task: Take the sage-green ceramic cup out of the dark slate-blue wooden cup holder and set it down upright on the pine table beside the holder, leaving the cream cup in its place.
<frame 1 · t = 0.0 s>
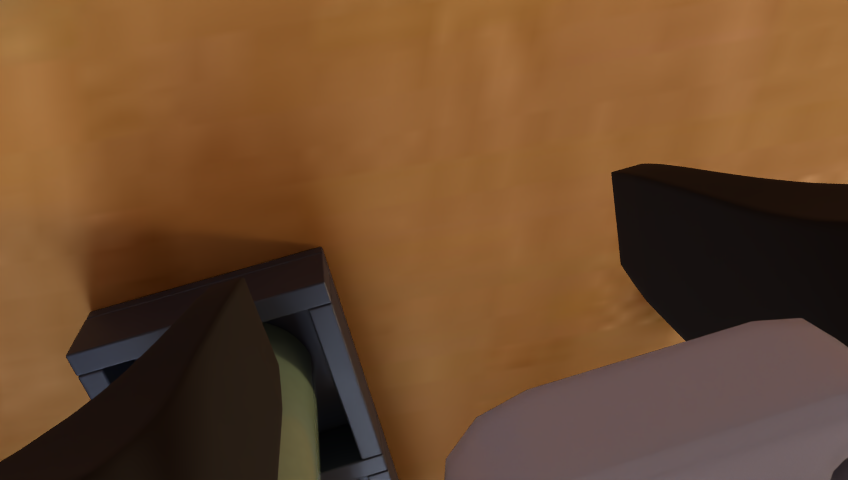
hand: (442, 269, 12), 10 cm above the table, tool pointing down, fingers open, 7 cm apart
cup holder: (278, 444, 26), on the table
green cup: (245, 379, 24), resting on cup holder
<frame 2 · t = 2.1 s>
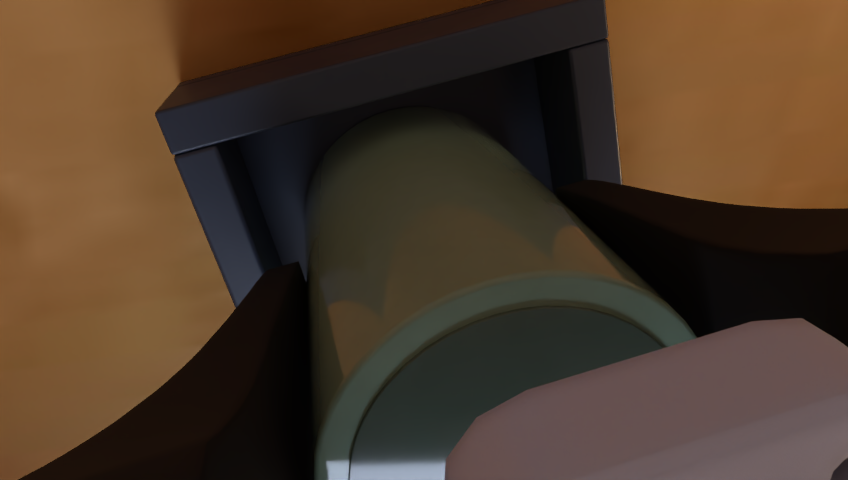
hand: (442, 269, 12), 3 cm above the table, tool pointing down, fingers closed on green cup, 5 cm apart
cup holder: (444, 331, 17), on the table
green cup: (414, 214, 15), point 1 cm above the table, touching cup holder, gripper
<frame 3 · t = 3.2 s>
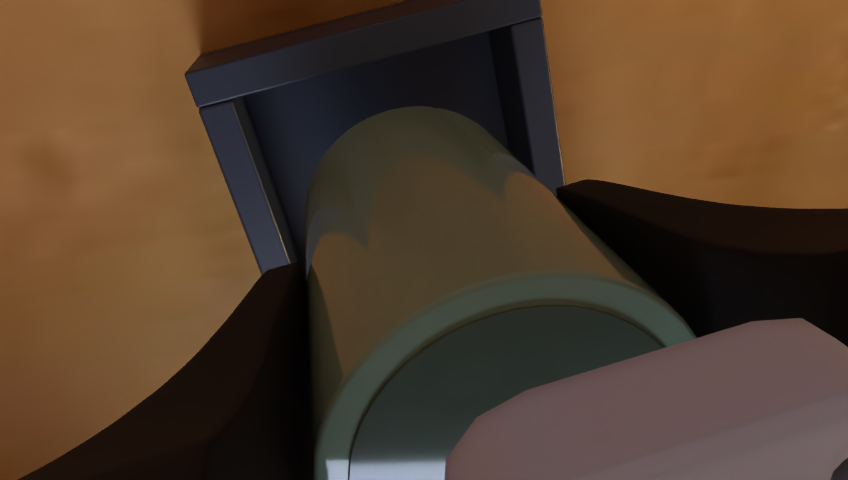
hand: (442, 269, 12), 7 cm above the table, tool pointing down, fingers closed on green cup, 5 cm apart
cup holder: (420, 269, 20), on the table
green cup: (414, 213, 15), point 4 cm above the table, touching gripper
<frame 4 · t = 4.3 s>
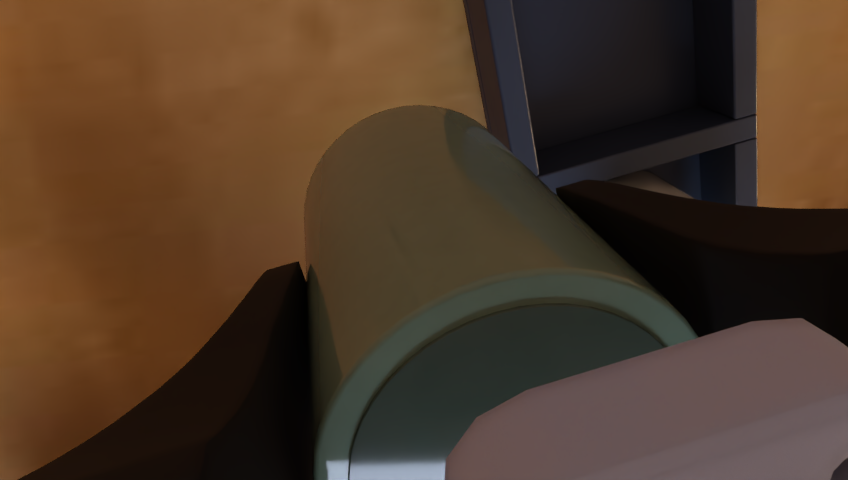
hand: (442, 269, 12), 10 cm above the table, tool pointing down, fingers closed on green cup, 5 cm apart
cup holder: (603, 137, 23), on the table
cream cup: (619, 233, 24), resting on cup holder
green cup: (414, 213, 15), point 7 cm above the table, touching gripper
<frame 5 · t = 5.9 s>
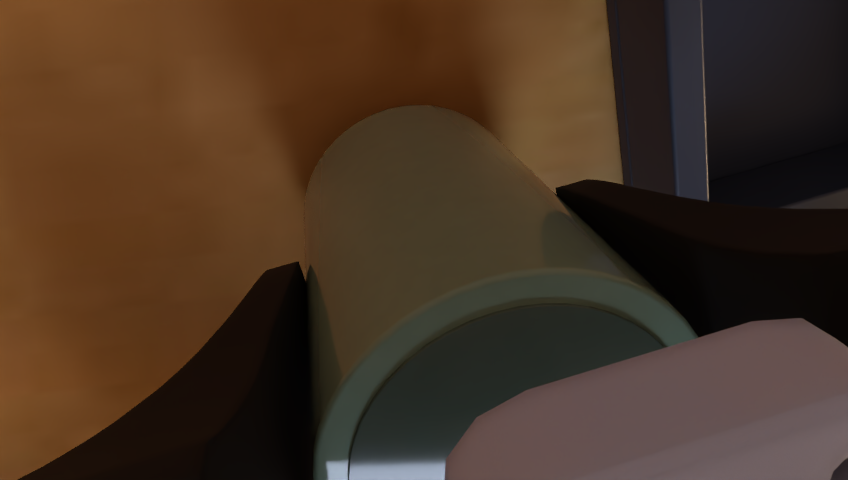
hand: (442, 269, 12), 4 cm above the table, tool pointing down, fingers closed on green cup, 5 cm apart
cup holder: (767, 168, 18), on the table
green cup: (414, 213, 15), point 1 cm above the table, touching gripper
when the fingers open (3 cm above the table, at t = 6.8 s): green cup stays where it is, on the table.
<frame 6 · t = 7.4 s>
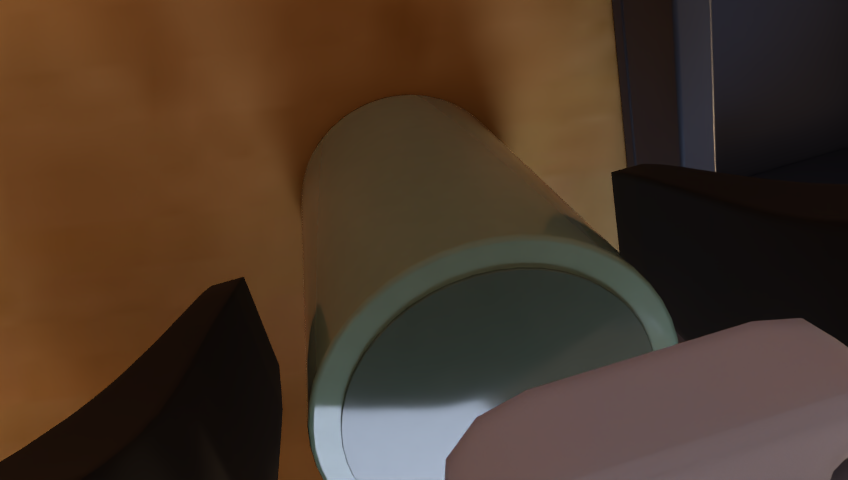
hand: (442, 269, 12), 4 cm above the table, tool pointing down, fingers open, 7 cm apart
cup holder: (775, 172, 17), on the table
green cup: (407, 199, 16), on the table
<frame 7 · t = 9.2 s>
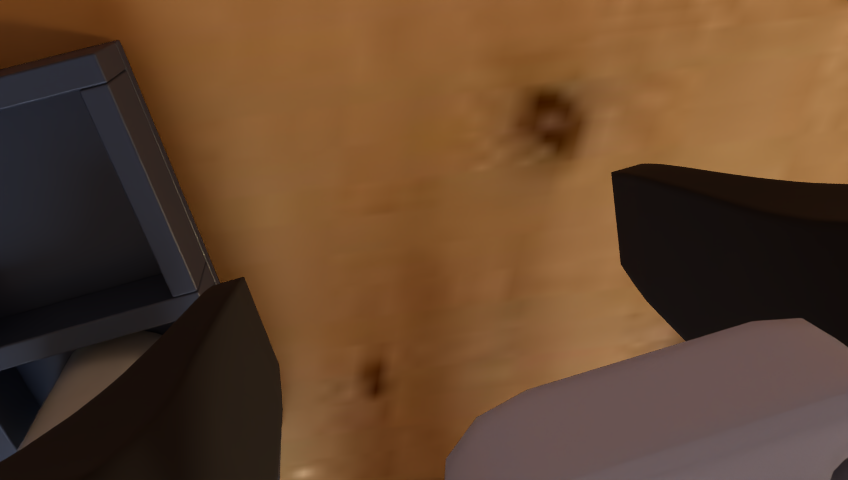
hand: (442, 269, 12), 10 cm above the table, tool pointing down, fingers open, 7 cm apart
cup holder: (96, 296, 22), on the table
cream cup: (136, 388, 24), resting on cup holder
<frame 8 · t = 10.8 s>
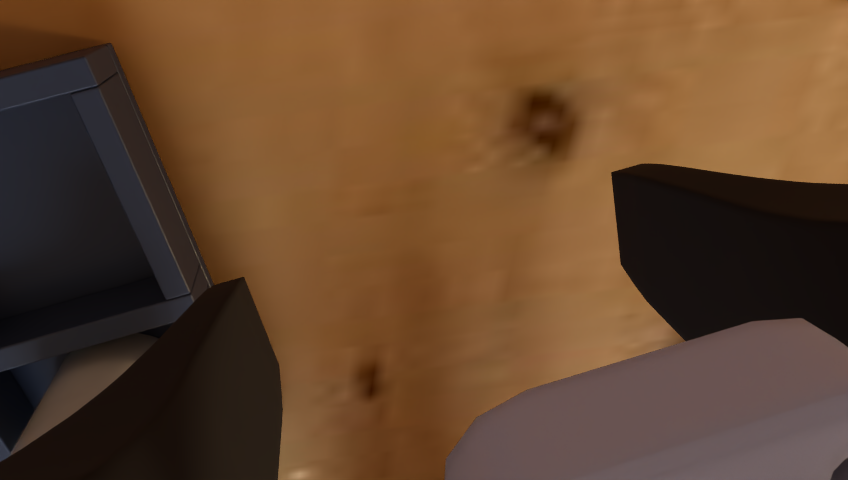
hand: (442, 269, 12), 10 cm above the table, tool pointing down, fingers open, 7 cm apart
cup holder: (89, 299, 22), on the table
cream cup: (130, 391, 24), resting on cup holder
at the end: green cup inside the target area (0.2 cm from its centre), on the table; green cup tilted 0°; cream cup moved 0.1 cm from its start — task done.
